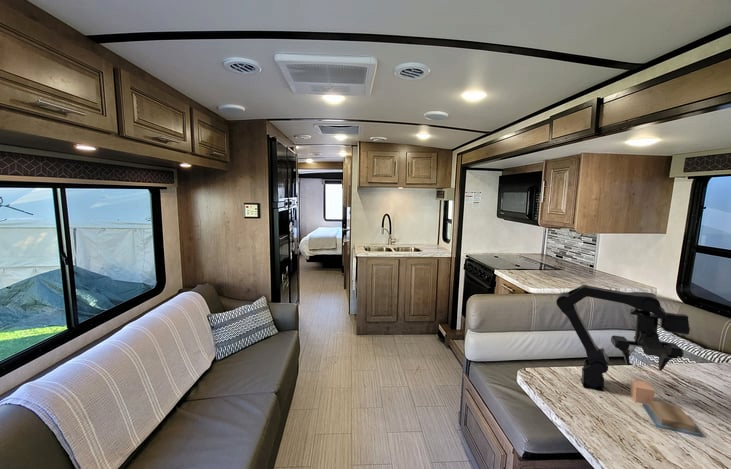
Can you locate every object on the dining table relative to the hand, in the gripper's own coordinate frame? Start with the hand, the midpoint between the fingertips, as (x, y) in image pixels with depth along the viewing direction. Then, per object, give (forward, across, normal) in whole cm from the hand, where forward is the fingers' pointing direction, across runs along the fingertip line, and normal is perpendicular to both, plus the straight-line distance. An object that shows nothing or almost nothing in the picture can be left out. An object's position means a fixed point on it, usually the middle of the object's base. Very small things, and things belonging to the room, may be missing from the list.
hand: (643, 367), depth 108 cm
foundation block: (+13, +4, -10) cm, 17 cm away
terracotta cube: (+13, 0, 0) cm, 13 cm away
